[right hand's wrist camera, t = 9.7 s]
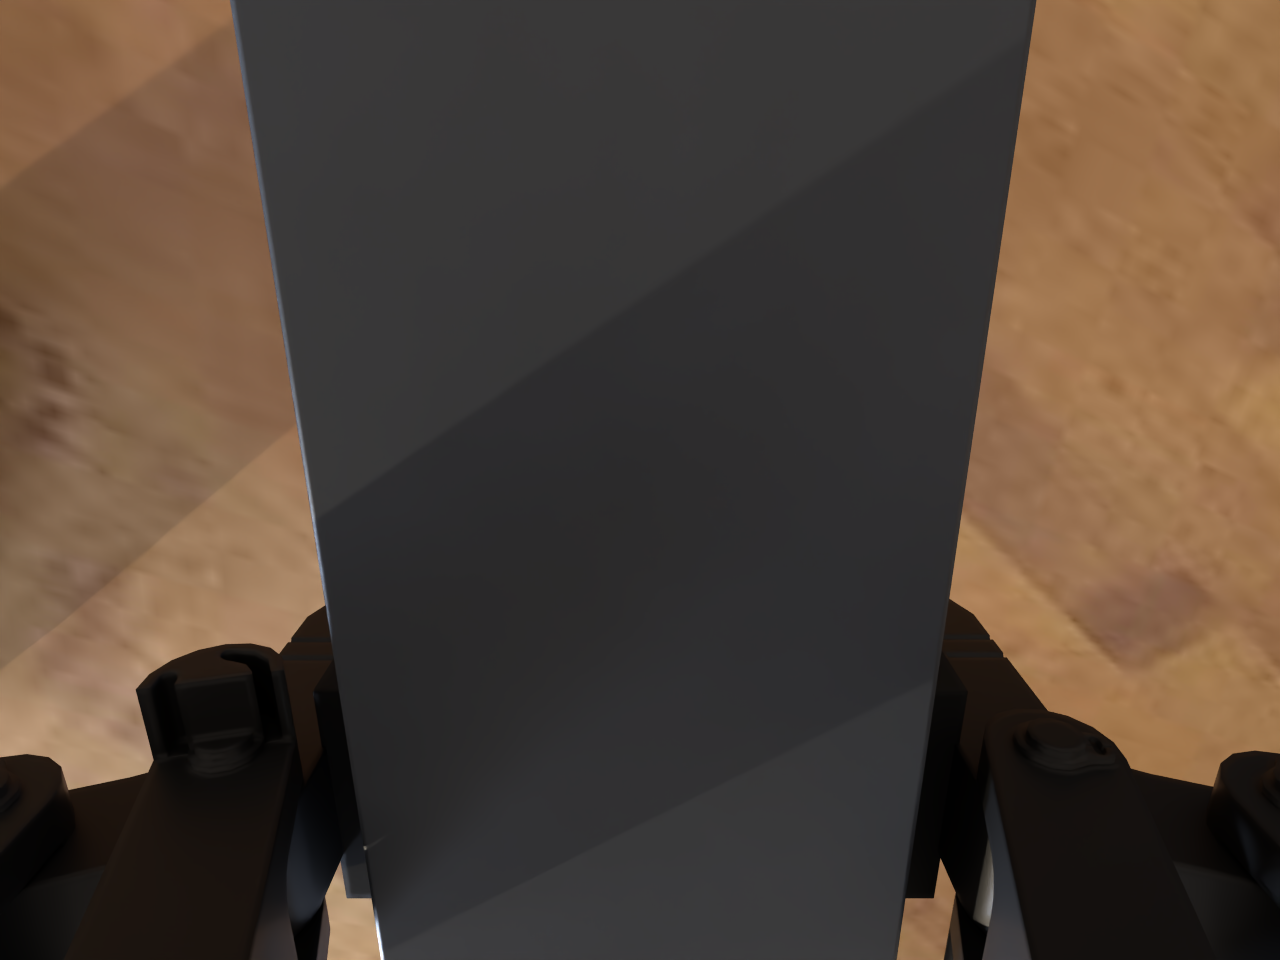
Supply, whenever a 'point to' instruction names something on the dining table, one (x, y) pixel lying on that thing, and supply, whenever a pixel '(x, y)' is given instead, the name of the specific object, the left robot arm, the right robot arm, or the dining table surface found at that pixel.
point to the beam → (635, 444)
